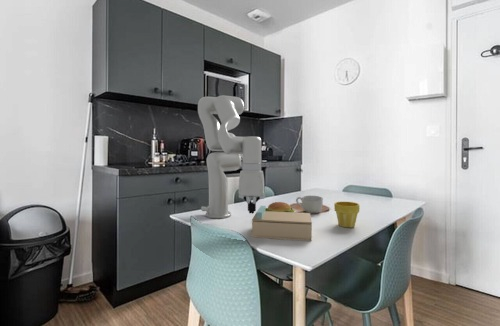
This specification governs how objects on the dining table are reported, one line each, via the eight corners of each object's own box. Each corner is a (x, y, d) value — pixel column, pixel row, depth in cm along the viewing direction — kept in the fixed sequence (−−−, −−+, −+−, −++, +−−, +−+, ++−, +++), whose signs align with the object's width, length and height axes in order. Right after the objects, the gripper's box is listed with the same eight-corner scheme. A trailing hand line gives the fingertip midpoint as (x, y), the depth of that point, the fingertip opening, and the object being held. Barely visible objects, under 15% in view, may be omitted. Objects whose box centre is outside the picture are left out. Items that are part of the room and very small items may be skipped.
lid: (252, 220, 102) (252, 212, 102) (257, 212, 116) (257, 205, 116) (311, 223, 98) (311, 215, 98) (310, 214, 112) (310, 207, 112)
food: (284, 214, 139) (284, 198, 138) (298, 221, 126) (299, 204, 125) (259, 216, 134) (259, 200, 133) (272, 224, 121) (272, 206, 120)
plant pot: (329, 223, 122) (329, 202, 121) (347, 221, 125) (348, 200, 125) (344, 230, 112) (345, 206, 111) (364, 227, 116) (365, 205, 115)
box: (252, 237, 103) (252, 221, 102) (257, 226, 116) (257, 212, 116) (311, 240, 99) (311, 224, 98) (309, 229, 113) (310, 215, 112)
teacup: (325, 211, 145) (325, 196, 144) (318, 215, 135) (319, 199, 135) (300, 208, 152) (300, 194, 152) (293, 212, 143) (293, 197, 142)
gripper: (231, 167, 106) (231, 214, 107) (269, 168, 103) (269, 215, 104) (235, 166, 113) (235, 209, 114) (271, 167, 111) (271, 211, 112)
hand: (251, 212), depth 109 cm, fingers closed
